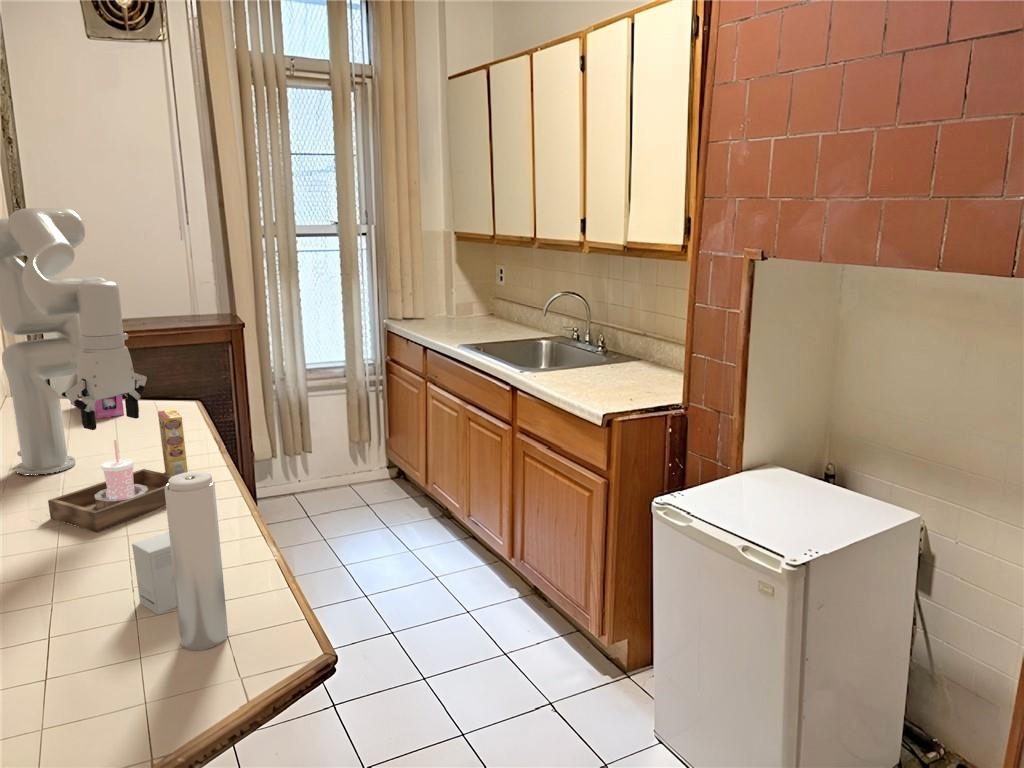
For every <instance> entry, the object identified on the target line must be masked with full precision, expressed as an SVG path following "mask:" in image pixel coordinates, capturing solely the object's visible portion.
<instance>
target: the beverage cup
mask: <svg viewBox="0 0 1024 768" xmlns="http://www.w3.org/2000/svg"><path fill="white" fill-rule="evenodd" d="M113 443H114V444H113V445H114V453H115V459H111V460H107V461H105V462H103V463H101V470H102V471H103V475H104V479H105V481H106V485H107V490H108V495H109V499H120V498H126V497H130V496H133V495H134V481H133V472H134V466H135V463H134V462H135V461H134V460H133V459H130V458H119V451H118V443H117V439H113Z"/></svg>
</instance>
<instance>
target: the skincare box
mask: <svg viewBox="0 0 1024 768" xmlns="http://www.w3.org/2000/svg"><path fill="white" fill-rule="evenodd" d="M131 546H132V552H133V553H132V554H133V560H134V567H135V575H136V582H137V590H138V591H137V592H138V598H139V604H141V605H143V606H144V607H146V608H147V609H148V610H150V611H151V612H153V613H155V614H156V615H161V614H163V613H165V612H168V611H170V610H172V609H175V608H177V603H176V593H175V584H174V574H173V565H172V555H171V546H170V536H169V531H167V532H164V533H161V534H158V535H155V536H152V537H148V538H146V539H145V538H144V539H143V540H140V541H136V542H133V543H131Z"/></svg>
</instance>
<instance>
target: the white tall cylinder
mask: <svg viewBox="0 0 1024 768" xmlns="http://www.w3.org/2000/svg"><path fill="white" fill-rule="evenodd" d="M168 482H169V483H168V484H167V485H166V486H165V487H164V489H165V499H166V506H165V508H166V515H167V516H166V517H167V523H168V524H167V525H168V532H169V536H170V546H171V555H172V565H173V574H174V584H175V593H176V603H177V607H176V610H177V620H178V629H179V641H180V645H181V647H182V648H183V649H186V650H188V651H189V650H190V651H205V650H208V649H212V648H214V647H217V646H218V645H220V644H222V643H223V642H224V641H225V640H226V639H227V638H228V636H229V627H228V618H227V617H228V616H227V615H228V614H227V606H226V605H227V604H226V595H225V583H224V573H223V562H222V550H221V549H222V548H221V539H220V529H219V518H218V505H217V495H216V484H215V483H216V482H215V481H213V476H212V473H209V472H207V471H188V472H186V473H182V474H178V475H175V476H173V477H171V478H170V479H169V480H168Z"/></svg>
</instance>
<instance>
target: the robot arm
mask: <svg viewBox="0 0 1024 768" xmlns="http://www.w3.org/2000/svg"><path fill="white" fill-rule="evenodd" d="M85 228H86V227H85V224H84V222H83V220H82V218H81V217H80V216H79V214H78V213H77V212H75V211H74V210H72V209H70V208H66V207H65V208H61V207H59V208H58V207H53V208H51V207H50V208H49V207H28V208H27V207H26V208H21V209H17V210H16V211H14V212H13V213H11V214H10V215H9V217H8V218H0V321H1V324H2V326H3V329H4V330H5V332H6V333H8V334H9V335H12V336H30V335H31V336H33V335H40V334H42V335H43V334H52V333H55V334H56V335H57V337H52V338H51V337H50V338H40V339H32V340H24V341H19V342H15V343H11V344H10V345H8V346H7V347H6V348H4V350H3V352H1V353H2V354H1V363H2V365H3V369H4V371H5V374H6V378H7V381H8V384H9V387H10V392H11V396H12V403H13V411H14V415H15V423H16V427H17V436H18V443H19V444H18V445H19V448H20V450H19V451H17V456H18V457H20V458H21V462H20V463H19V464H17V465H16V466H15V468H14V469H15V472H16V471H17V472H18V473H21V474H29V475H31V474H32V475H34V476H38V475H37V474H45V475H48V474H47V473H51V474H55V473H54V472H56V473H60V472H63V471H66V470H68V469H71V468H72V467H74V466H75V465H76V464H77V463H76V458H74V457H73V456H70V455H68V452H67V442H66V436H65V428H64V427H65V426H64V421H63V412H62V405H61V399H60V396H59V394H58V392H57V391H56V390H55V389H54V388H53V387H52V386H51V385H49V384H48V383H47V382H46V380H50V379H52V378H60V377H66V376H74V375H76V381H77V383H76V384H75V385H73V386H71V388H70V389H68V390H67V391H66V392H65V397H66V398H67V399H68V400H69V402H70V404H71V405H73V407H75V408H77V410H80V415H81V424H82V427H83V428H84V429H85V430H89V431H94V430H96V429H97V421H96V419H97V418H96V416H95V412H94V411H92V408H93V406H94V404H95V403H96V401H97V400H102V399H106V398H111V397H115V396H119V395H122V396H123V395H124V396H125V397H126V398H125V399H124V403H125V404H124V405H125V413H126V417H128V418H132V419H139V418H140V414H139V413H140V408H139V406H140V405H139V400H140V399H141V395H142V393H143V392H144V390H145V386H146V382H147V379H148V376H146V375H143V374H140V373H137V372H134V371H135V370H134V366H133V362H132V358H131V357H132V356H131V354H130V352H129V349H128V346H126V345H125V343H126V342H125V341H126V340H128V339H129V334H128V333H126V332H124V326H123V317H122V307H121V305H122V304H121V296H120V289H119V286H118V284H117V283H115V282H114V281H111V280H106V279H105V278H103V277H100V276H84V277H83V276H82V277H81V276H80V277H79V276H78V277H77V276H76V277H59V278H57V277H56V278H52V277H55V276H57V275H59V274H61V273H63V272H65V271H66V270H67V269H69V268H70V267H71V266H72V264H73V262H74V261H75V248H77V247H79V246H80V245H81V244H82V243H83V242H84V241H85V240H84V239H85V236H86V229H85ZM19 256H26V258H27V259H26V261H25V262H23V261H22V260H21V259H19V258H18V257H19ZM78 395H79V397H81V399H80V398H79V397H78ZM59 471H60V472H59ZM18 473H17V474H18ZM35 474H36V475H35Z"/></svg>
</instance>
